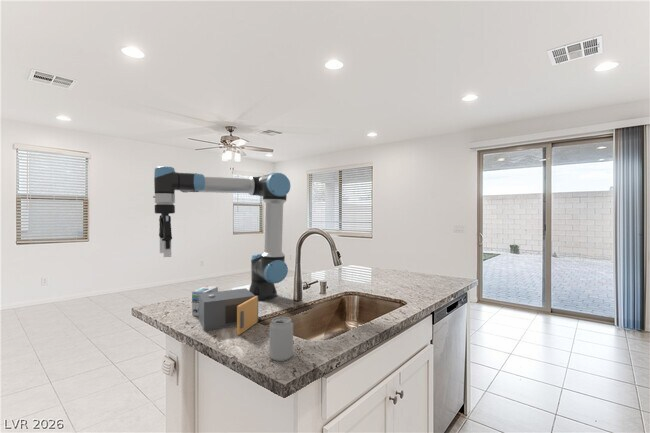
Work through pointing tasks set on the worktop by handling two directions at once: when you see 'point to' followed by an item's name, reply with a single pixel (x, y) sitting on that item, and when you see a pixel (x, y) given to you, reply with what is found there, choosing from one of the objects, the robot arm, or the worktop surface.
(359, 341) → the worktop surface
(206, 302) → the grey microwave
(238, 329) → the orange cabinet door
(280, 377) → the worktop surface
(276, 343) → the can
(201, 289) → the light bulb box
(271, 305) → the worktop surface
